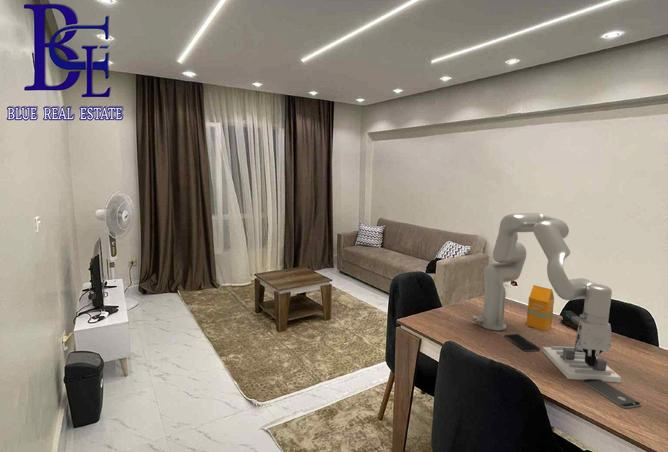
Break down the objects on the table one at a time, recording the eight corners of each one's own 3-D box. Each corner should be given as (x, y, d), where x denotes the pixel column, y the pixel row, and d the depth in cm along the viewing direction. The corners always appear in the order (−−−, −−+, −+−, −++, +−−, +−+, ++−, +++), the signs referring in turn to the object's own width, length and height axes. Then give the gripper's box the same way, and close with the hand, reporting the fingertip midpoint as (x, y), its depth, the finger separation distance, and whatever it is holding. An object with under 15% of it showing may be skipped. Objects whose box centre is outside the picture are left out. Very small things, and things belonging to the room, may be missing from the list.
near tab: (596, 372, 135) (598, 361, 134) (592, 368, 137) (593, 357, 136) (605, 373, 134) (606, 362, 134) (601, 369, 137) (602, 358, 136)
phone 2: (580, 382, 132) (623, 410, 117) (580, 380, 132) (624, 407, 117) (597, 380, 134) (642, 407, 119) (597, 377, 134) (642, 404, 118)
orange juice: (544, 331, 175) (549, 291, 172) (526, 325, 181) (529, 286, 178) (551, 326, 179) (555, 288, 177) (532, 321, 186) (536, 283, 183)
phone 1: (525, 350, 154) (503, 334, 168) (525, 353, 154) (502, 337, 168) (541, 349, 155) (518, 333, 169) (541, 351, 155) (518, 336, 170)
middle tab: (565, 361, 142) (566, 350, 142) (562, 358, 145) (563, 347, 144) (573, 361, 142) (575, 351, 141) (570, 358, 144) (571, 348, 144)
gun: (564, 320, 187) (571, 305, 182) (595, 350, 169) (604, 334, 165) (556, 321, 186) (564, 306, 181) (587, 351, 169) (596, 335, 164)
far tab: (577, 354, 148) (578, 343, 148) (574, 350, 151) (575, 341, 150) (585, 354, 148) (586, 344, 147) (582, 351, 150) (583, 341, 150)
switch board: (567, 378, 134) (568, 370, 133) (542, 351, 155) (543, 344, 154) (620, 382, 132) (621, 374, 131) (587, 354, 153) (588, 347, 152)
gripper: (579, 321, 130) (573, 368, 133) (624, 323, 128) (617, 371, 131) (568, 313, 138) (563, 358, 140) (611, 315, 136) (605, 361, 139)
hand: (589, 364), depth 136 cm, fingers closed
